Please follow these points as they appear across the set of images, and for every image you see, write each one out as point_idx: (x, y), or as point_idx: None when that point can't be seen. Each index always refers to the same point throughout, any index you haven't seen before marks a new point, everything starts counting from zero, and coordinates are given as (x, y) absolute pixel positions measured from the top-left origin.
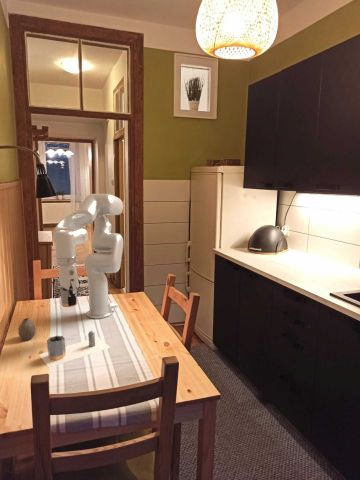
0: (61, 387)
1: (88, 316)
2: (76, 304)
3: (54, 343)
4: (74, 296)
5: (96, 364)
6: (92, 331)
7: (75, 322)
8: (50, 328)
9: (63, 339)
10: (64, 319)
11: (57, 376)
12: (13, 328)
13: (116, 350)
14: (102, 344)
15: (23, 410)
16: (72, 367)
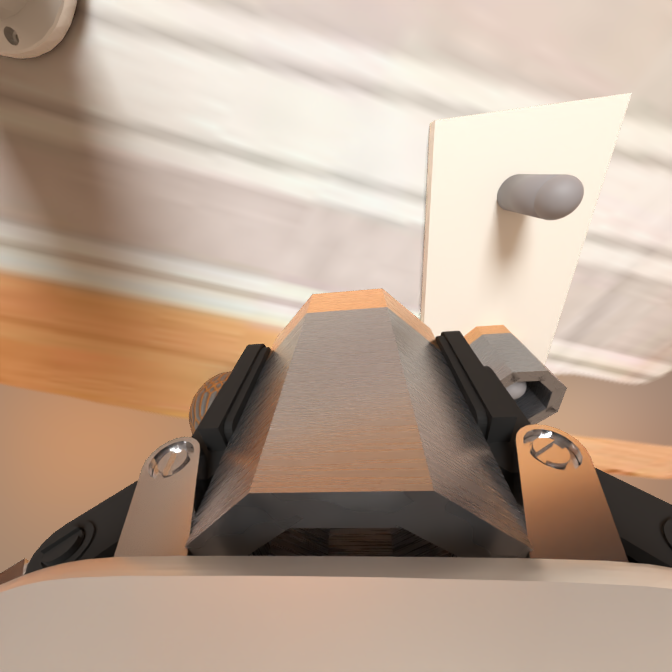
0: (656, 370)
1: (39, 52)
2: (403, 306)
3: (553, 411)
4: (539, 436)
5: (654, 224)
6: (576, 191)
7: (120, 173)
8: (170, 304)
9: (555, 377)
10: (64, 220)
11: (583, 366)
12: (134, 406)
13: (642, 52)
14: (551, 128)
15: (650, 451)
16: (576, 314)
